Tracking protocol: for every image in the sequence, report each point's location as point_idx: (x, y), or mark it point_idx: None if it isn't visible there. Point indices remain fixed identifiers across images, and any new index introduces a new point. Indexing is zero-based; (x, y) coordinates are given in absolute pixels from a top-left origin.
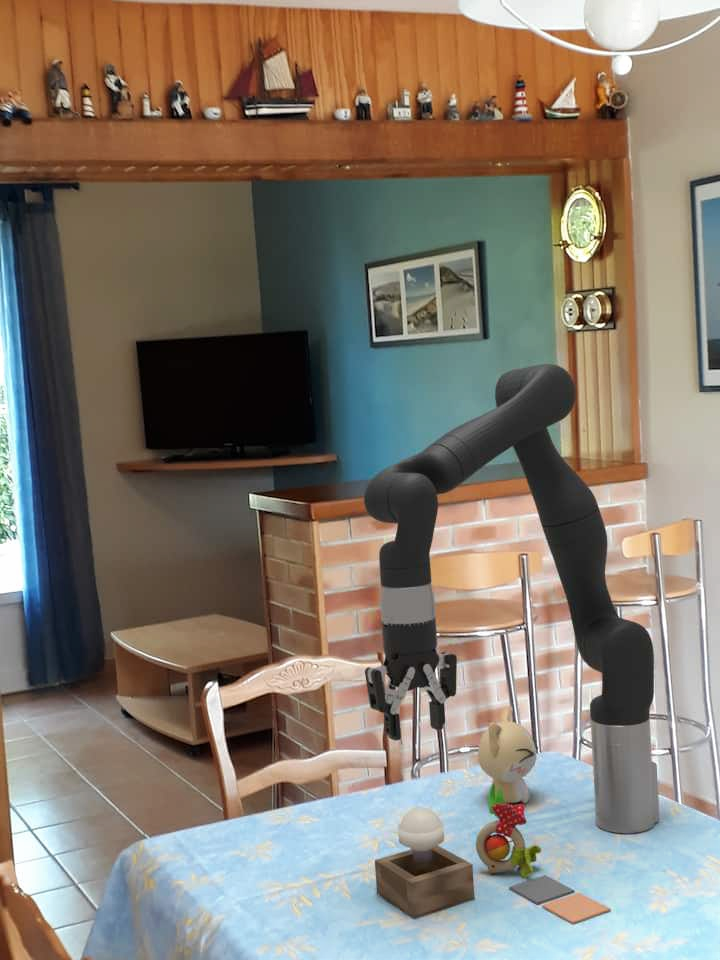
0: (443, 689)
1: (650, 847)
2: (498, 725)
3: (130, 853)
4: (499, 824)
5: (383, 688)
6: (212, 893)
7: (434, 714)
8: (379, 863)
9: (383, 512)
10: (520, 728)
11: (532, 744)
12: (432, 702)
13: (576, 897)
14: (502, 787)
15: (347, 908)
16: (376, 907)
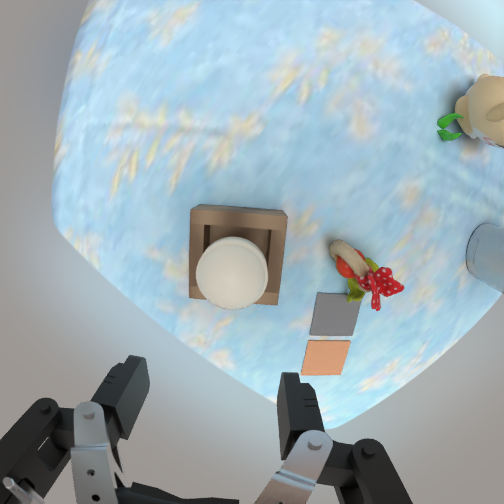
0: (336, 480)
1: (455, 303)
2: None
3: None
4: (360, 279)
5: (48, 490)
6: (81, 95)
7: (282, 420)
8: (190, 222)
9: None
10: None
11: None
12: (292, 440)
13: (341, 347)
14: (467, 119)
15: (156, 213)
16: (181, 232)
